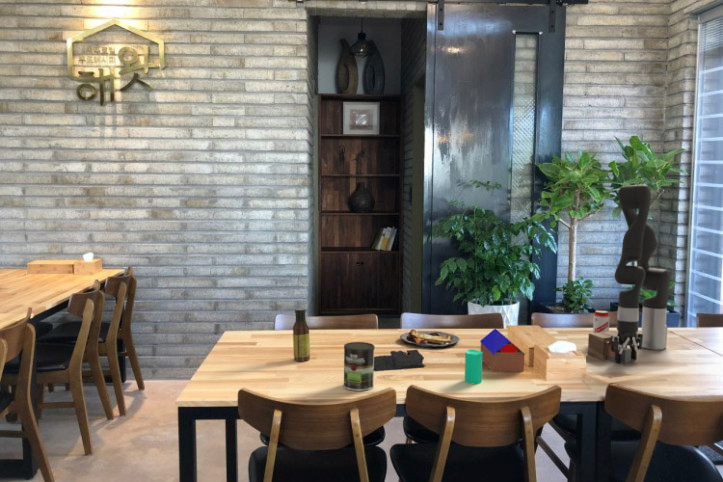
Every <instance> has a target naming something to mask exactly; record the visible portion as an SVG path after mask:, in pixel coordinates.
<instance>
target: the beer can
mask: <svg viewBox="0 0 723 482" xmlns="http://www.w3.org/2000/svg"><path fill="white" fill-rule="evenodd" d="M610 317H611V316H610V314H609V311H608V310H603V309H597V310H595V312H594V313H593V322H592V333H598V332H607V331H610ZM607 343H609V342H607Z"/></svg>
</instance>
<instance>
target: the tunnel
mask: <svg viewBox="0 0 723 482" xmlns="http://www.w3.org/2000/svg"><path fill="white" fill-rule="evenodd" d="M617 335H618V331H617V332H616V331H613V330H609V331H607V332H598V333H593V332H591V333H588V337H587V338H588V339H587V340H588V342H587V343H588V346H587V356H590V357H592V358H596V359H598V360H601V361H606V360H607V359H606V345H607V342H608V343H611V336H617ZM620 345H621V344H620ZM625 348H628V346H626V347H625Z"/></svg>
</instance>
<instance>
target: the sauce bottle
mask: <svg viewBox="0 0 723 482" xmlns="http://www.w3.org/2000/svg"><path fill="white" fill-rule="evenodd" d="M306 312H307V311H306V308H303V307H299V308H297V307H296V308H294V314H295V322H294V323H293V327H292V340H293V342H292V344H293V358H294V361H297V362H299V363H300V362H307V361H309V360H310V359H311V357H310V356H311V343H310V329H309V326H308V324H307V321H306V320H307V319H306Z"/></svg>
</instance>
